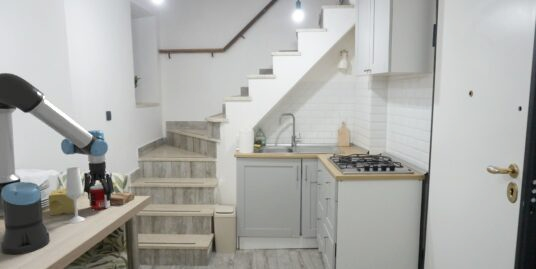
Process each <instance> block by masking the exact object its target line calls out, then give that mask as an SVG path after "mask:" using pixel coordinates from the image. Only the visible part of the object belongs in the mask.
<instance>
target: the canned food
mask: <svg viewBox="0 0 536 269" xmlns="http://www.w3.org/2000/svg"><path fill="white" fill-rule="evenodd" d="M105 194H106V193H105V191H104V188H103V186H102V184H101V183H100V184H99V183H98V184H95V185H94V186H92V187H90V196H91V206H90V207H91V210H93V209H94V211H101V209H102V210H105V209H106V208H105V196H104V195H105Z"/></svg>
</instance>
